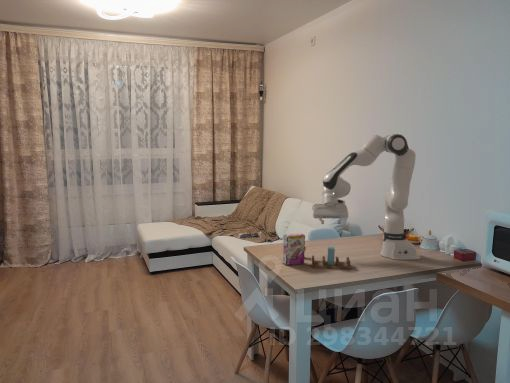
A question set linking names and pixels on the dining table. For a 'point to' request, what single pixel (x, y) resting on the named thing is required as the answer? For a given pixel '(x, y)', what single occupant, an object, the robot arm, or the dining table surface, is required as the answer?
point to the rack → (336, 265)
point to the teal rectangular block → (330, 256)
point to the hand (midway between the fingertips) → (330, 223)
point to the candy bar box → (293, 249)
